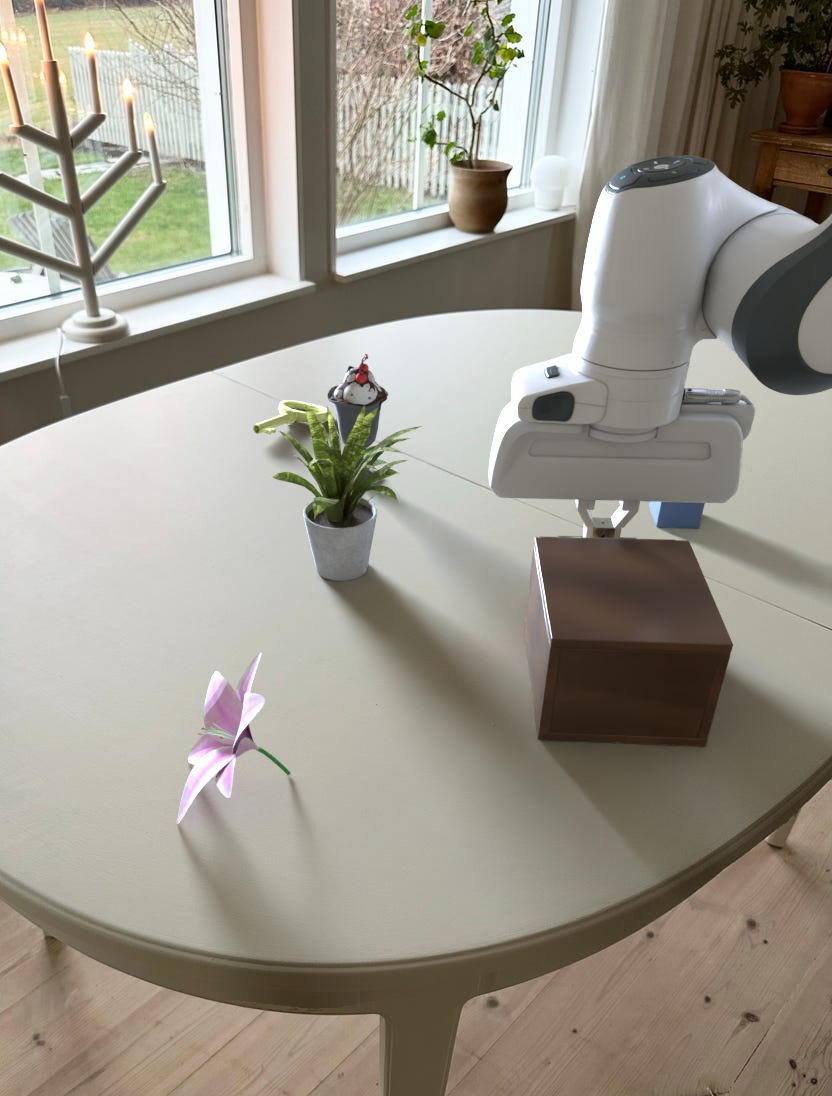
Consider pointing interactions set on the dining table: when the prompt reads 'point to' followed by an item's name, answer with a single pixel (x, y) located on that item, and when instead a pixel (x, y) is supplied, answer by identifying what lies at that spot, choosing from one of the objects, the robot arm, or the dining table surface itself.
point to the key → (290, 416)
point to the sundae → (357, 402)
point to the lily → (224, 735)
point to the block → (676, 514)
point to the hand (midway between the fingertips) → (600, 540)
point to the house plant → (342, 494)
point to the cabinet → (623, 642)
